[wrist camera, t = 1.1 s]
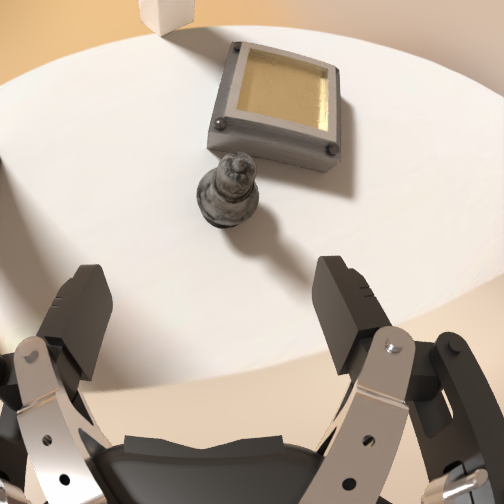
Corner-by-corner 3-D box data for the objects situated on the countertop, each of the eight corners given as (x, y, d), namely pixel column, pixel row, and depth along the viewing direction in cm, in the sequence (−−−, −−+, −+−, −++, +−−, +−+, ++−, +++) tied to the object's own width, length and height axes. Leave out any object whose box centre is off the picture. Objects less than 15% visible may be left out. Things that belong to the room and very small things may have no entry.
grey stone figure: (198, 232, 29) (196, 205, 17) (196, 178, 29) (195, 122, 17) (254, 229, 30) (288, 202, 18) (250, 176, 30) (279, 123, 19)
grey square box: (206, 148, 30) (208, 124, 24) (228, 61, 31) (233, 33, 26) (325, 172, 32) (346, 155, 27) (327, 85, 33) (344, 63, 28)
